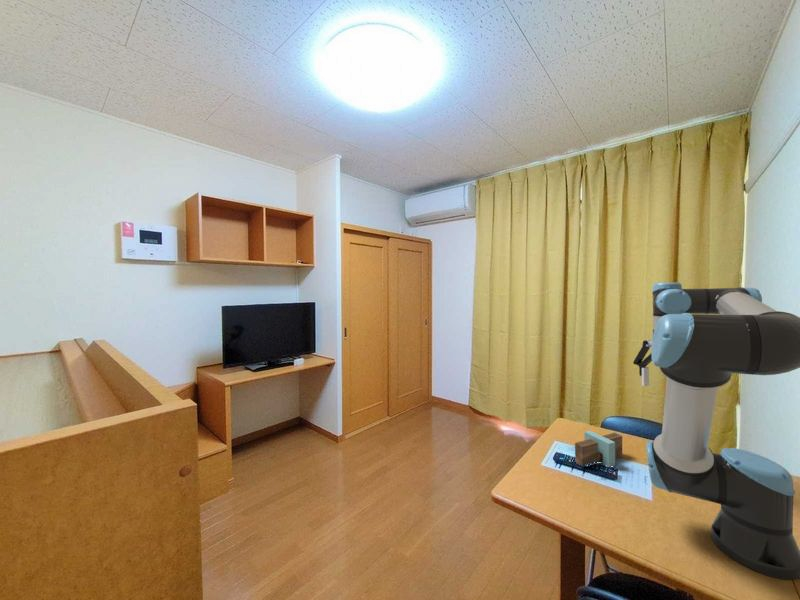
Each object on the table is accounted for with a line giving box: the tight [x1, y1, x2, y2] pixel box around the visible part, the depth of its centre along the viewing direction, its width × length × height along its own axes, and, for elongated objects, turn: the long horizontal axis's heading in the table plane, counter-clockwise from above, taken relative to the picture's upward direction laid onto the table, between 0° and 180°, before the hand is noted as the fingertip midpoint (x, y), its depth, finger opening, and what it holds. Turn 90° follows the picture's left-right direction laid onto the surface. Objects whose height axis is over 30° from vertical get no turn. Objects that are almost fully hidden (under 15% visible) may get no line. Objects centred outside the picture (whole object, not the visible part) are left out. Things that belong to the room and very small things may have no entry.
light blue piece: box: [583, 430, 616, 467], centre depth 119 cm, size 10×3×9 cm, turn 19°
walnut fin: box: [574, 432, 623, 466], centre depth 119 cm, size 3×20×8 cm, turn 109°
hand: (667, 391), depth 108 cm, fingers open, 13 cm apart
